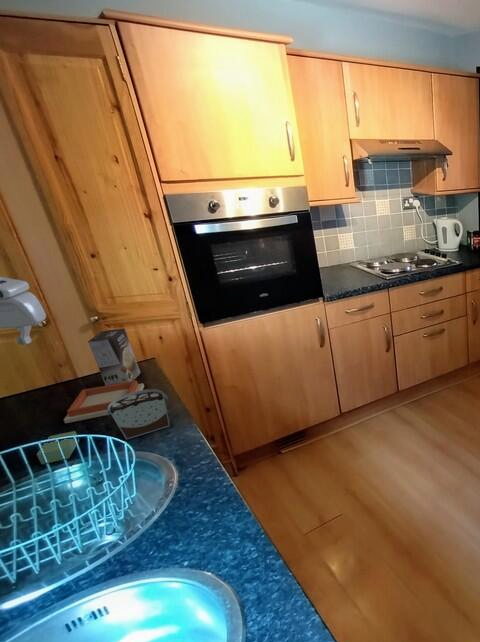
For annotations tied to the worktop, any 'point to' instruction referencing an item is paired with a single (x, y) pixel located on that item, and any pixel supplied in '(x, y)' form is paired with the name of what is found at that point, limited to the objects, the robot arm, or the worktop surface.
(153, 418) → the food container
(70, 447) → the green pad
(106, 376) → the coffee box
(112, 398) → the orange tray
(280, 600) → the worktop surface
